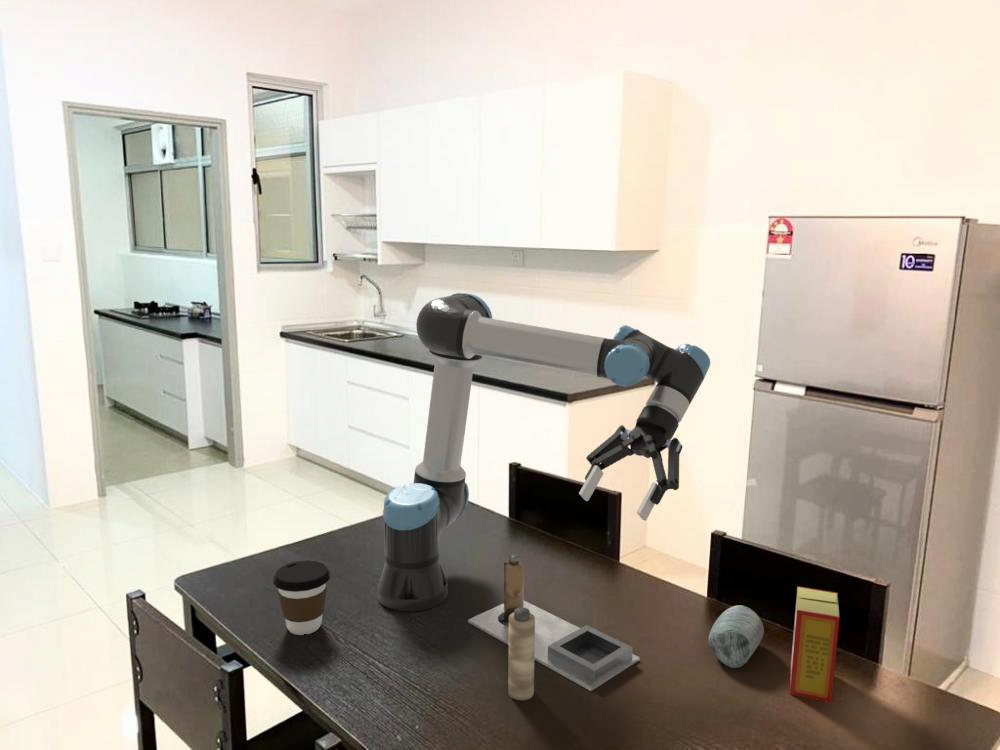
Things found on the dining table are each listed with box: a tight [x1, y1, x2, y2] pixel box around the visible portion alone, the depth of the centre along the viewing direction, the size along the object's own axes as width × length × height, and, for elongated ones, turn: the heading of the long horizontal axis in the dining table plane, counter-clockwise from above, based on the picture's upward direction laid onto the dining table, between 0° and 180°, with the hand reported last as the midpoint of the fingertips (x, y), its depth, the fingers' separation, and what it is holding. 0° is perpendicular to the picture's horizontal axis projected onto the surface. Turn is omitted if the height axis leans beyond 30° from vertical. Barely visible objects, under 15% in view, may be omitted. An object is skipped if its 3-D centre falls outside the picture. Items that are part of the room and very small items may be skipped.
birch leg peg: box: [507, 607, 535, 702], centre depth 129 cm, size 4×4×15 cm
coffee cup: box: [272, 560, 331, 636], centre depth 151 cm, size 11×11×12 cm
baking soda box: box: [789, 586, 840, 703], centre depth 132 cm, size 10×6×16 cm
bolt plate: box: [467, 553, 640, 692], centre depth 146 cm, size 32×14×14 cm, turn 44°
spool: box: [708, 604, 765, 669], centre depth 142 cm, size 14×10×10 cm
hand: (611, 506), depth 141 cm, fingers open, 13 cm apart
